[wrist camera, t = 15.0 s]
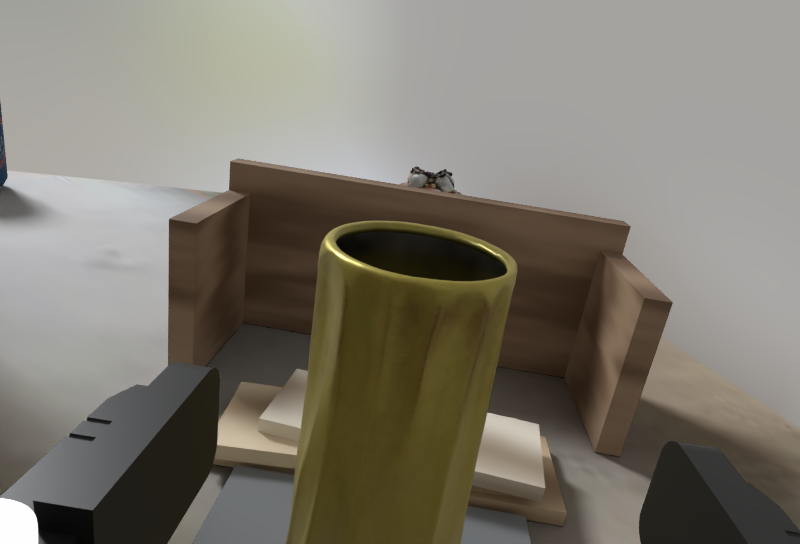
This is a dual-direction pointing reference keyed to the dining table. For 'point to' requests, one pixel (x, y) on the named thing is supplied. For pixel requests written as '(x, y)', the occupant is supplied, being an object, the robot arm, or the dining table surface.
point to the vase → (397, 383)
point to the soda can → (2, 155)
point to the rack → (481, 218)
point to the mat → (271, 511)
